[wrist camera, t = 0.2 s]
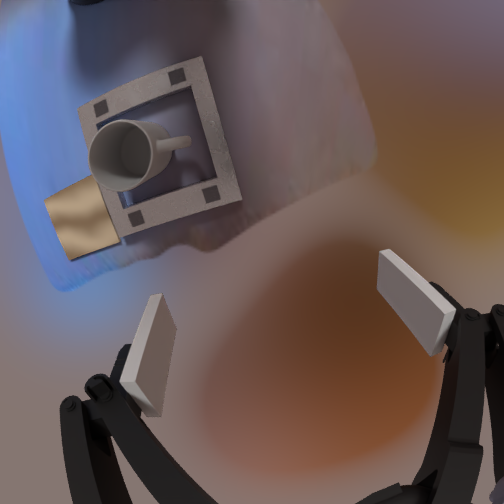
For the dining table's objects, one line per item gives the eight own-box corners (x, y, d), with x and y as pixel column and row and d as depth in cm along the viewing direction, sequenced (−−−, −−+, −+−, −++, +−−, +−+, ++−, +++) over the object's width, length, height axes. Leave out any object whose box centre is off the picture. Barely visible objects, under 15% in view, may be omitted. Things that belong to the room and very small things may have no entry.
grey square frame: (83, 109, 32) (76, 108, 30) (203, 59, 31) (201, 55, 29) (123, 233, 41) (119, 238, 39) (241, 196, 40) (242, 199, 38)
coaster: (45, 199, 37) (43, 200, 36) (95, 173, 36) (93, 173, 36) (70, 258, 42) (68, 260, 41) (120, 240, 41) (119, 241, 41)
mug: (125, 182, 38) (94, 199, 28) (116, 129, 34) (81, 130, 24) (200, 167, 38) (190, 179, 28) (192, 111, 34) (179, 103, 25)
